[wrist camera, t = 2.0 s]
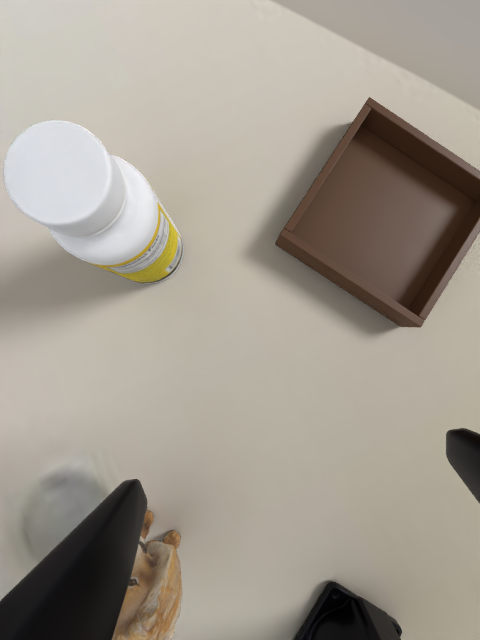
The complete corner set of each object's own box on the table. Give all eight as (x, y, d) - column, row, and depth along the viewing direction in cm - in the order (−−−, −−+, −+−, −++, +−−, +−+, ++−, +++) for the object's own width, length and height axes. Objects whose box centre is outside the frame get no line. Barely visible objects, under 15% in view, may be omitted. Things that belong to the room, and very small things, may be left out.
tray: (401, 327, 19) (421, 327, 17) (274, 244, 19) (279, 234, 17) (478, 202, 19) (507, 188, 17) (355, 120, 19) (369, 96, 17)
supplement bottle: (105, 232, 18) (-41, 127, 9) (169, 207, 19) (99, 76, 9) (130, 296, 18) (13, 264, 9) (195, 270, 19) (153, 210, 9)
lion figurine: (167, 459, 18) (103, 590, 9) (217, 506, 18) (200, 682, 9) (31, 602, 18) (-177, 888, 9) (82, 650, 18) (-73, 984, 9)
